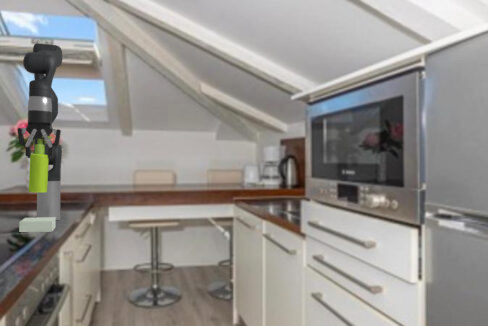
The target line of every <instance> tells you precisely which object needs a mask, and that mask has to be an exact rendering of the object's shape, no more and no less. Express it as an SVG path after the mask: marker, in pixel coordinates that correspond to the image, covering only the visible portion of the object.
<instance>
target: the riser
mask: <svg viewBox="0 0 488 326" xmlns="http://www.w3.org/2000/svg"><path fill="white" fill-rule="evenodd" d="M56 221H57V220H56V217H40V218H37V217H24V218H23V219H21V220H20V221H19V226H18V228H19V229H18V231H19V232H29V233H52V232H53V231H54V230H55V229H56V223H57V222H56Z"/></svg>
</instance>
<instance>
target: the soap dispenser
mask: <svg viewBox="0 0 488 326" xmlns="http://www.w3.org/2000/svg"><path fill="white" fill-rule="evenodd" d="M42 137H44V136H43V135H42ZM47 138H50V140H51V139H53V137H52V136H51V135H49V136H47ZM44 144H45V143H44V139H40V138H39V139H38V143H37V144H36V145H35V150H34V149H33V153H31V155H30V158H29V173H28V176H29V177H28V192H29V193H36V194H37V193H42V192H47V182H48V171H49V165H48V161H49V158H48V155H46V154H45V145H44ZM34 153H35V154H34Z"/></svg>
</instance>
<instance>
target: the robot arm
mask: <svg viewBox="0 0 488 326" xmlns="http://www.w3.org/2000/svg"><path fill="white" fill-rule="evenodd" d="M32 47H33V48H32V52H30V51H29V52H27V53H26V54H25V55H24V57H23V61H22V63H23V69H24V70H25V71H26V72H28V73H30V74H34V75H33V76H34V78H33V80H31V81H29V84H28V102H27V126H26V127H18V128H17V136H18V143H19V145H20V146H23V147H25V156H26V157H27V158H28V159H30V155H31V154H32V147H31V146H32V144H33V151H34V150H35V145H36V144H37V143H38V139H39V138H40V139H43V140H44V141H45V142H46V143H43V144H44V145H45V154H46V155H48V158H49V161H48V166H52V167H51V168H50V169H48V182H47V192H42V193H36V218H40V217H56V221H60V219H61V188H62V187H61V181H62V180H61V179H62V177H61V172H62V171H61V170H62V158H63V157H62V155H63V150H62V147H61V145H60V140H61V133H62V130H61V129H59V128H58V129H55V128H53V126H52V124H53V123H54V121H55V120H56V119H57V117H58V114H59V98H58V95H57V94H56V92H55V90H54V89H53V88H52V85H53V81H54V77H55V75H56V71H57V68H58V67H60V66H62V63H63V51H62V48H61V47H60V46H59V45H57V44H50V43H49V44H47V43H42V42H41V43H40V42H37V43H34V45H33V46H32ZM26 132H27V133H28V134H29V137H28V138H27V141H26V142H25V135H24V134H26ZM52 133H53V135H54V136H55V138H54V141H53V142H54V143H53V142H52V140H51V138H47V136H51V134H52ZM42 135H43V136H44V137H42ZM33 142H34V143H33ZM33 154H35V153H34V152H33Z"/></svg>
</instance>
